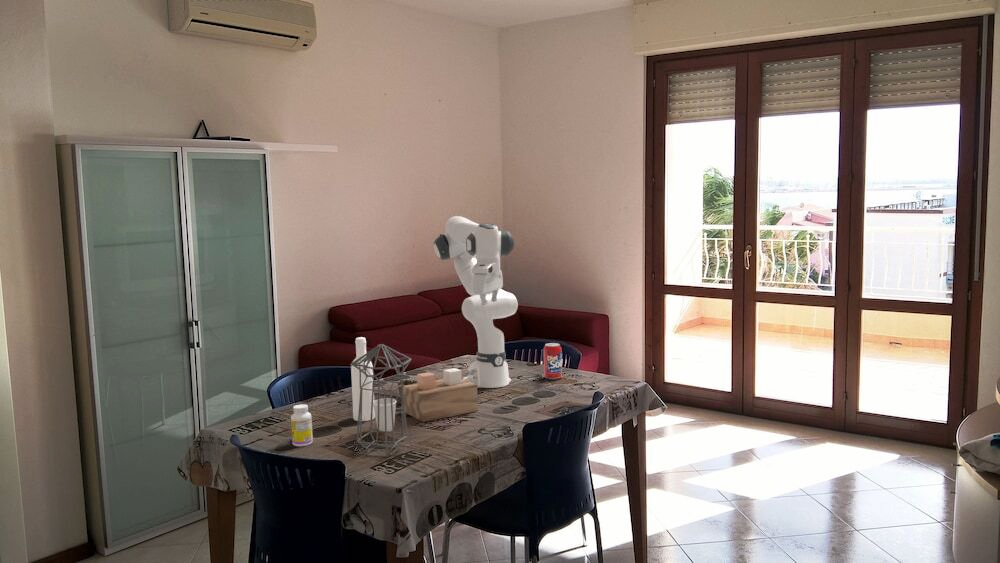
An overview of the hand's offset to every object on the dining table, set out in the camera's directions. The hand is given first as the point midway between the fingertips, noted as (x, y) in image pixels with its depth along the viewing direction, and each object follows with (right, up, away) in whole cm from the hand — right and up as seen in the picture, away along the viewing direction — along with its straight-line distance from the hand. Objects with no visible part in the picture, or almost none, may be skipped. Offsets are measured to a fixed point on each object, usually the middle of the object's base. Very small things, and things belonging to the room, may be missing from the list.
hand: (489, 303), depth 293 cm
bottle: (-46, -42, -9) cm, 63 cm away
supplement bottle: (-62, -46, -36) cm, 85 cm away
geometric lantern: (-33, -46, -46) cm, 73 cm away
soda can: (+27, -34, +45) cm, 63 cm away
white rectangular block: (-14, -34, 0) cm, 37 cm away
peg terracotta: (-23, -35, -6) cm, 42 cm away
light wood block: (-18, -41, -2) cm, 45 cm away
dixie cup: (-36, -44, -23) cm, 61 cm away
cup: (-32, -40, +13) cm, 53 cm away
